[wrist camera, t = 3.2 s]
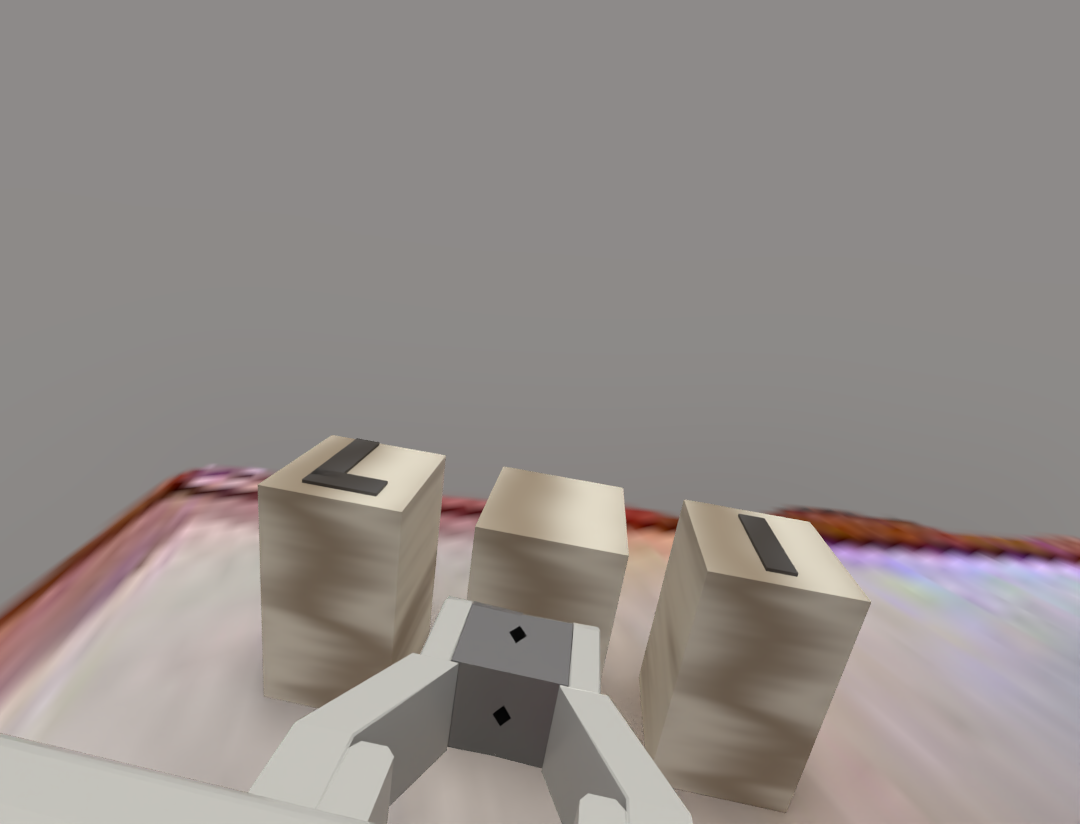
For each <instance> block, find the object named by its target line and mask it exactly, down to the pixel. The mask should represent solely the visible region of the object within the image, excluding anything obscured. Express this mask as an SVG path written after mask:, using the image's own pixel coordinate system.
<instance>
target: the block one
mask: <svg viewBox="0 0 1080 824" xmlns="http://www.w3.org/2000/svg"><path fill="white" fill-rule="evenodd" d="M870 604H871V601H870V600H869V598H868V597H867V596H866V595H865V593H864V592H863V591H862V589H861V588H860V587H859V585H858V584H857V583H856V582H855V580H854V579H853V578H852V576H851V575H850V574H849V572H848V571H847V570H846V569H845V567H844V566H843V565H842V563H841V562H840V561H839V560H838V558H837V557H836V556H835V554H834V553H833V552H832V550H831V549H830V548H829V547H828V545H827V544H826V543H825V541H824V540H823V539H822V538H821V536H820V535H819V534H818V532H817V531H816V530H815V528H814V527H813V526H812V525H811V523H810V522H806V521H801V520H795V519H790V518H784V517H779V516H773V515H767V514H762V513H756V512H751V511H745V510H740V509H734V508H729V507H723V506H717V505H712V504H706V503H701V502H696V501H690V500H684V501H683V505H682V510H681V513H680V517H679V521H678V525H677V529H676V533H675V537H674V541H673V545H672V549H671V553H670V557H669V561H668V565H667V568H666V572H665V576H664V580H663V584H662V588H661V592H660V596H659V600H658V604H657V608H656V612H655V616H654V620H653V624H652V628H651V632H650V635H649V639H648V643H647V647H646V651H645V655H644V659H643V663H642V667H641V671H640V675H639V684H640V696H641V708H642V719H643V731H644V743H645V749H646V751H647V752H648V754H649V755H650V756H651V758H652V759H653V761H654V762H655V764H656V765H657V767H658V768H659V769H660V771H661V772H662V774H663V775H664V777H665V778H666V779H667V781H668V782H669V784H670V785H671V787H672V788H674V789H679V790H683V791H688V792H692V793H697V794H701V795H706V796H711V797H715V798H720V799H724V800H729V801H733V802H738V803H742V804H747V805H752V806H756V807H761V808H765V809H770V810H774V811H779V812H784V813H786V812H787V809H788V807H789V804H790V802H791V799H792V797H793V795H794V792H795V790H796V787H797V785H798V782H799V780H800V777H801V775H802V772H803V770H804V767H805V765H806V762H807V760H808V757H809V755H810V753H811V750H812V748H813V745H814V743H815V740H816V738H817V735H818V733H819V730H820V728H821V725H822V723H823V720H824V718H825V715H826V713H827V710H828V708H829V706H830V703H831V701H832V698H833V696H834V693H835V691H836V688H837V686H838V683H839V681H840V678H841V676H842V673H843V671H844V668H845V666H846V664H847V661H848V659H849V656H850V654H851V651H852V649H853V646H854V644H855V641H856V639H857V636H858V634H859V631H860V629H861V626H862V624H863V621H864V619H865V617H866V614H867V612H868V609H869V607H870Z"/></svg>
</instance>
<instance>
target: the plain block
mask: <svg viewBox="0 0 1080 824" xmlns="http://www.w3.org/2000/svg"><path fill="white" fill-rule="evenodd" d="M628 557H629V553H628V541H627V530H626V518H625V506H624V494H623V488H620V487H615V486H609V485H603V484H598V483H592V482H587V481H581V480H575V479H570V478H564V477H559V476H553V475H548V474H542V473H537V472H531V471H526V470H520V469H515V468H509V467H503V469H502V471H501V473H500V475H499V477H498V479H497V481H496V484H495V486H494V488H493V490H492V492H491V494H490V496H489V498H488V501H487V503H486V505H485V507H484V509H483V511H482V513H481V516H480V518H479V520H478V522H477V524H476V526H475V533H474V542H473V550H472V559H471V567H470V576H469V584H468V593H467V600H470V601H473V602H474V601H475V602H479V603H484V604H488V605H492V606H496V607H501V608H505V609H509V610H513V611H518V612H522V613H525V614H530V615H535V616H539V617H544V618H549V619H554V620H559V621H564V622H569V623H572V624H573V623H578V624H584V625H589V626H595V627H599V629H600V681H601V676H602V672H603V668H604V663H605V659H606V654H607V650H608V645H609V641H610V636H611V632H612V628H613V623H614V619H615V614H616V610H617V605H618V601H619V597H620V592H621V588H622V583H623V579H624V574H625V570H626V565H627V561H628Z"/></svg>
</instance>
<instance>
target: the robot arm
mask: <svg viewBox="0 0 1080 824" xmlns="http://www.w3.org/2000/svg"><path fill="white" fill-rule="evenodd" d="M447 747H451V748H456V749H461V750H466V751H471V752H476V753H481V754H486V755H491V756H496V757H500V758H503V759H507V760H511V761H515V762H519V763H523V764H526V765H530V766H534V767H538V768H542V773H543V776H544V779H545V781H546V784H547V786H548V789H549V792H550V794H551V797H552V799H553V802H554V804H555V807H556V810H557V812H558V815H559V817H560V820H561V822H562V824H693V822H692V816H691V814H690V812H689V811H688V810H687V808H686V807H685V805H684V804H683V802H682V801H681V800H680V798H679V797H678V795H677V794H676V792H675V791H674V790H673V788H672V787H671V785H670V784H669V782H668V781H667V779H666V778H665V777H664V775H663V774H662V772H661V771H660V769H659V768H658V767H657V765H656V764H655V762H654V761H653V759H652V758H651V756H650V755H649V754H648V752H647V751H646V749H645V748H644V746H643V745H642V744H641V742H640V741H639V739H638V738H637V736H636V735H635V733H634V732H633V731H632V729H631V728H630V726H629V725H628V723H627V722H626V721H625V719H624V718H623V716H622V715H621V713H620V712H619V710H618V709H617V708H616V706H615V705H614V703H613V702H612V700H611V699H610V698H609V696H607V695H603V694H600V629H599V627H595V626H589V625H584V624H578V623H573V624H572V623H569V622H564V621H559V620H554V619H549V618H544V617H539V616H535V615H530V614H525V613H522V612H518V611H513V610H509V609H505V608H501V607H496V606H492V605H488V604H484V603H479V602H475V601H474V602H473V601H470V600H465V599H461V598H456V597H452V596H449V597H448V598H447V599H446V600H445V601H444V604H443V606H442V608H441V610H440V612H439V614H438V617H437V619H436V621H435V623H434V625H433V627H432V630H431V632H430V634H429V636H428V638H427V640H426V643H425V645H424V647H423V649H422V651H421V653H420V654H416V653H411V654H410V655H408V656H406V657H405V658H403V659H401V660H400V661H398V662H396V663H394V664H393V665H391V666H389V667H388V668H386V669H384V670H383V671H381V672H379V673H378V674H376V675H374V676H372V677H371V678H369V679H367V680H366V681H364V682H362V683H361V684H359V685H357V686H356V687H354V688H352V689H350V690H349V691H347V692H345V693H344V694H342V695H340V696H339V697H337V698H335V699H334V700H332V701H330V702H328V703H327V704H325V705H323V706H322V707H320V708H318V709H317V710H315V711H313V712H312V713H310V714H308V715H306V716H305V717H303V718H301V719H300V720H298V721H296V722H295V723H294V724H293V726H292V727H291V729H290V730H289V732H288V733H287V735H286V736H285V738H284V739H283V741H282V742H281V744H280V745H279V747H278V748H277V750H276V751H275V753H274V754H273V756H272V757H271V759H270V760H269V762H268V763H267V765H266V766H265V768H264V769H263V771H262V772H261V774H260V775H259V777H258V778H257V780H256V781H255V783H254V784H253V786H252V787H251V789H250V790H249V792H248V793H247V792H243V791H239V790H235V789H231V788H227V787H223V786H219V785H214V784H210V783H206V782H202V781H198V780H194V779H190V778H185V777H181V776H177V775H173V774H169V773H165V772H161V771H156V770H152V769H148V768H144V767H140V766H136V765H132V764H127V763H123V762H119V761H115V760H111V759H107V758H103V757H98V756H94V755H90V754H86V753H82V752H78V751H74V750H69V749H65V748H61V747H57V746H53V745H49V744H45V743H40V742H36V741H32V740H28V739H24V738H20V737H16V736H11V735H7V734H3V733H0V824H387V820H388V810H389V806H390V805H391V804H392V803H393V802H394V801H395V800H396V799H397V798H398V797H399V796H400V795H401V794H402V793H404V792H405V791H406V790H407V789H408V788H409V787H410V786H411V785H412V784H413V783H414V782H415V781H416V780H417V779H418V778H419V777H420V776H421V775H422V774H423V773H424V772H425V771H426V770H427V769H428V768H429V767H430V766H431V765H432V764H433V763H434V762H435V761H436V760H437V759H438V758H439V757H440V756H441V755H442V754H443V753H444V752H445V751H446V750H447Z"/></svg>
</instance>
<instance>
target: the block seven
mask: <svg viewBox="0 0 1080 824" xmlns="http://www.w3.org/2000/svg"><path fill="white" fill-rule="evenodd" d="M445 458H446V456H445V455H440V454H434V453H428V452H423V451H418V450H412V449H406V448H401V447H395V446H390V445H384V444H379V442H374V441H368V440H362V439H351V438H346V437H340V436H334V435H331V436H330V437H328V438H327V439H326V440H324V441H323V442H321V443H320V444H318V445H317V446H315V447H314V448H312V449H311V450H309V451H308V452H306V453H305V454H303V455H302V456H300V457H299V458H297V459H296V460H294V461H293V462H291V463H290V464H288V465H287V466H285V467H284V468H282V469H281V470H279V471H278V472H276V473H275V474H273V475H272V476H270V477H269V478H267V479H266V480H264V481H263V482H261V483H260V484H258V509H259V544H260V580H261V615H262V650H263V685H264V697H268V698H273V699H277V700H282V701H286V702H291V703H296V704H300V705H305V706H309V707H314V708H320V707H322V706H323V705H325V704H327V703H328V702H330V701H332V700H334V699H335V698H337V697H339V696H340V695H342V694H344V693H345V692H347V691H349V690H350V689H352V688H354V687H356V686H357V685H359V684H361V683H362V682H364V681H366V680H367V679H369V678H371V677H372V676H374V675H376V674H378V673H379V672H381V671H383V670H384V669H386V668H388V667H389V666H391V665H393V664H394V663H396V662H398V661H400V660H401V659H403V658H405V657H406V656H408V655H410V654H411V653H416V654H420V652H421V650H422V648H423V645H424V643H425V641H426V639H427V637H428V635H429V631H430V620H431V610H432V599H433V588H434V578H435V567H436V556H437V545H438V535H439V524H440V513H441V502H442V492H443V480H444V469H445V460H446V459H445Z"/></svg>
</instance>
